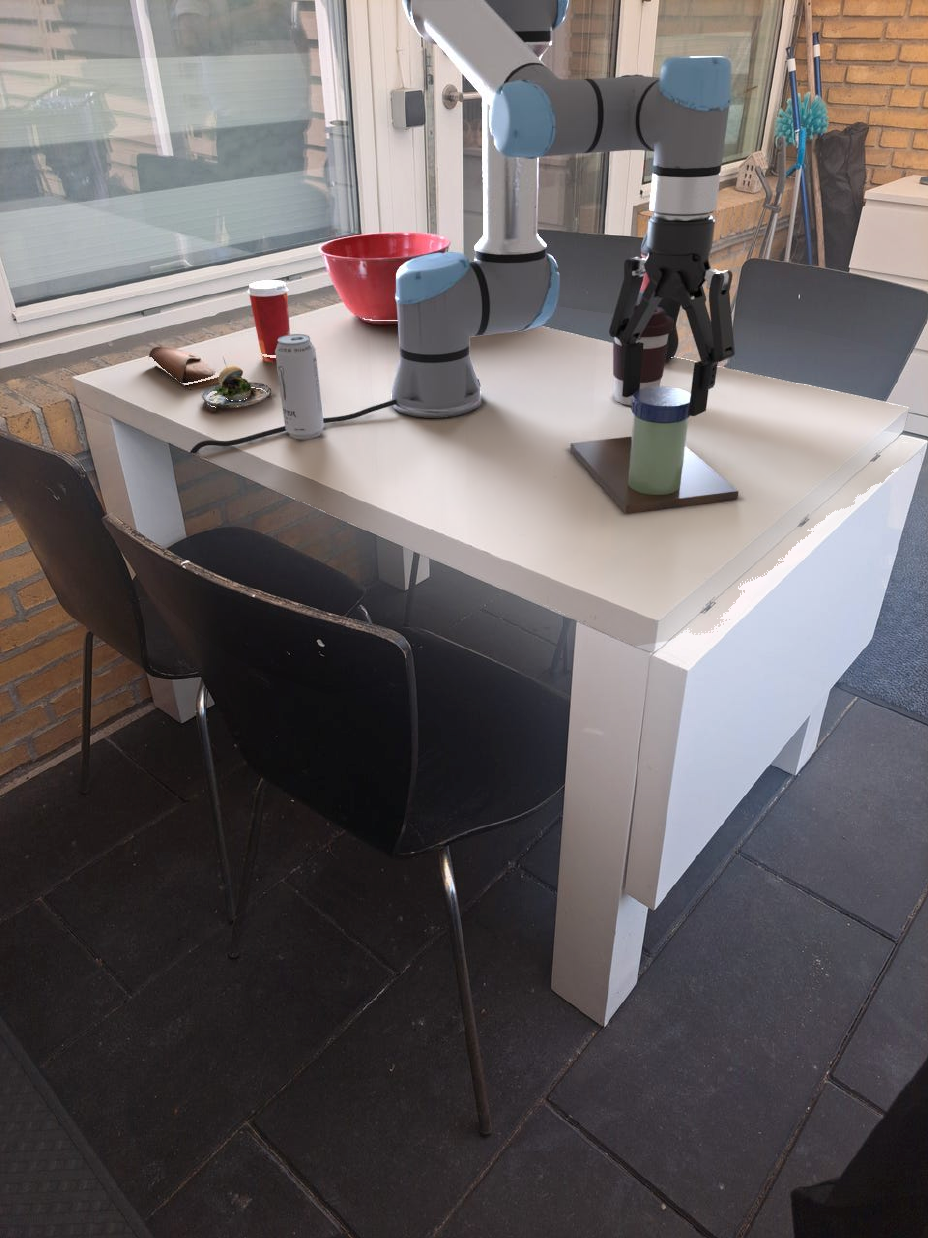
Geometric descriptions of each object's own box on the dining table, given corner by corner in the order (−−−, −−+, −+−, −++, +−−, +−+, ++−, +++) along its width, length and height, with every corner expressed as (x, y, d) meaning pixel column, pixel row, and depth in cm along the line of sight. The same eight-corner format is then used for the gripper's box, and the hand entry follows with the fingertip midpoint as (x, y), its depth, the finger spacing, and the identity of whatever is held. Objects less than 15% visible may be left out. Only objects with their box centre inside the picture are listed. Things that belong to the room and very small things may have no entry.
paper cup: (304, 355, 177) (296, 281, 170) (278, 366, 172) (268, 290, 164) (275, 350, 181) (265, 277, 173) (248, 360, 176) (237, 285, 168)
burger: (209, 418, 149) (201, 374, 145) (197, 397, 158) (189, 354, 154) (280, 407, 153) (274, 364, 149) (264, 387, 162) (259, 345, 158)
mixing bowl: (309, 332, 191) (300, 255, 183) (346, 299, 215) (339, 229, 206) (439, 336, 187) (436, 257, 179) (462, 301, 211) (460, 231, 202)
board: (625, 513, 117) (626, 505, 116) (569, 450, 135) (570, 443, 134) (737, 499, 120) (739, 491, 119) (668, 439, 138) (669, 431, 137)
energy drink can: (282, 430, 144) (269, 336, 136) (318, 424, 146) (308, 330, 138) (291, 443, 139) (278, 346, 131) (329, 436, 141) (318, 340, 133)
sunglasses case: (228, 378, 165) (205, 350, 160) (200, 404, 164) (176, 377, 159) (191, 356, 177) (168, 329, 172) (165, 380, 176) (141, 354, 171)
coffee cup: (671, 394, 155) (681, 304, 147) (656, 413, 147) (666, 319, 139) (616, 387, 158) (622, 299, 150) (598, 405, 151) (604, 314, 143)
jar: (639, 498, 118) (648, 411, 112) (619, 476, 124) (626, 393, 117) (689, 491, 119) (700, 406, 113) (667, 471, 125) (676, 388, 119)
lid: (645, 425, 112) (647, 408, 111) (622, 404, 118) (623, 389, 117) (702, 419, 113) (704, 402, 112) (676, 399, 120) (678, 383, 119)
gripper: (787, 220, 98) (755, 416, 110) (625, 201, 112) (613, 378, 124) (750, 229, 94) (721, 433, 106) (586, 208, 108) (577, 391, 120)
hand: (663, 403), depth 115 cm, fingers open, 10 cm apart
